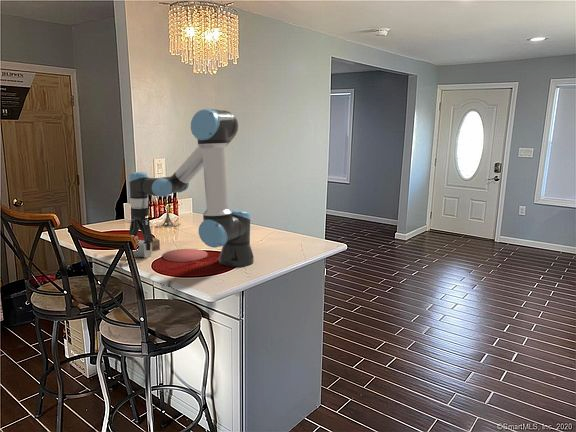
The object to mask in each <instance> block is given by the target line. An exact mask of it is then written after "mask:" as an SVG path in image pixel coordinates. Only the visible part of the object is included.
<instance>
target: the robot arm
mask: <svg viewBox="0 0 576 432" xmlns="http://www.w3.org/2000/svg"><path fill="white" fill-rule="evenodd" d="M238 130H239V122H238V120H237V118H236V116H235V114H233V113H232V112H231V111H228V110H222V109H213V108H205V109H204V108H203V109H200V110H198V111H196V113H195V114H194V115H193V117H192V118H191V120H190V131H191V133H192V135H193V137H194V138H195V139H196V140H197V147H196V148H195V149H194V151H192V152H191V153H190V155H189V156H188V157H187V158H186V159H185V161H183V163H182V164H181V165H180V166H179V167H178V169H176V171H175V172H174V173H173V174H172V175H171V176H165V177H149V176H148V173H147V172H145V171H133V172H130V173H129V178H128V179H129V181H128V184H129V205H130V224H129V229H128V230H129V232H128V234H129V236H131V235H134V236H136V237H137V239H138V240H139V237H138V236H139V234H138V233H139V231H140V233H141V235H142V238H143V241H145V242H144V257H143V258H144V259H145V258H146V259H147V258H150V257H151V258H152V253H151V242H153V238H154V237H153V234H152V229H151V227H150V226H151V225H150V220H149V219H146V217H149V214H150V213H149V207H148V206H149V201H150V199H149V196H155V197H159V198H160V197H161V198H162V197H168V196H169V195H170V194H175V193H182V192H185V191H187V190H188V188H189V186H190V182H191V180H193V179H194V178H195V176H196V175H197V174H198V173H199V172H200V171H201V170H202V169H203V180H204V193H205V206H206V209H205V211H204V212H203V213H202V216H203V217H202V219H203V221H201V223H200V225H198V226H199V227H198V235H199V239H200V240H201V241H202V242H203V243H204V244H205V245H206V246H207V247H210V248H221V247H222V248H221V251H220V254H219V257H218V263H219V264H220V265H223V266H226V267H236V268H237V267H245V266H246V267H247V266H250V265H253V263H254V262H255V261H254V260H255V257H254V254H253V250H252V248H251V247H252V246H251V213H250V212H249V211H247V210H240V209H239V210H238V209H229V204H228V203H229V200H228V190H227V189H228V188H227V173H226V172H227V171H226V170H227V169H226V159H225V158H226V154H225V148H226V147H227V146H228V145H229V144H230V143H231V142H232V141H233V139H234V138H235V136H236V135H237V133H238Z"/></svg>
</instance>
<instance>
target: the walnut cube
mask: <svg viewBox="0 0 576 432" xmlns="http://www.w3.org/2000/svg"><path fill="white" fill-rule="evenodd" d="M152 238H153V242H151V243H152V252H155V251H160V250H161V249H160V248H161V245H160V239H158V238H157V237H152Z"/></svg>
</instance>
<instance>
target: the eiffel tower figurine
mask: <svg viewBox="0 0 576 432" xmlns="http://www.w3.org/2000/svg"><path fill="white" fill-rule="evenodd" d="M180 225H181V223H180V222H179V223H178V224H174V223H173V221H172V220H171V218H170V213H169V206H168V204H167V206H166V217H165V220H164V222H163V223H162V225H161V227H165V228H176V227H180Z"/></svg>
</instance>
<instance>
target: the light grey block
mask: <svg viewBox="0 0 576 432" xmlns="http://www.w3.org/2000/svg"><path fill="white" fill-rule="evenodd" d="M138 241H139V248H138V250H136V251H133V254H134V256H135V257H134V258H145V257H144V242H145V241H144V240H141V239H140V240H139V239H138ZM151 254H153V251H152V243H151Z"/></svg>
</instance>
